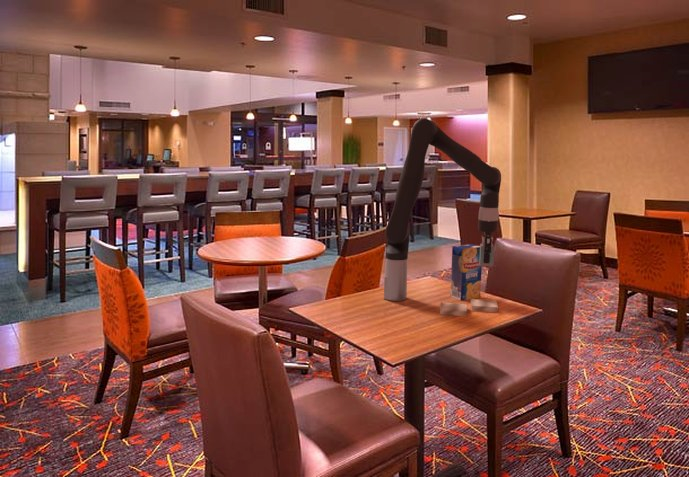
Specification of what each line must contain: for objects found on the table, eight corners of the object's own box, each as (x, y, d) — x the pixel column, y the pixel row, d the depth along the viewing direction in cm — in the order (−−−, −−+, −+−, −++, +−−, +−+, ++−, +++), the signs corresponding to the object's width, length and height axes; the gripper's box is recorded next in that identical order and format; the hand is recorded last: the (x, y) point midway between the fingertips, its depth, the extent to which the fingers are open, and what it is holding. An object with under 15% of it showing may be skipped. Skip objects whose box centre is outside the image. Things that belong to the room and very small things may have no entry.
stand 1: (439, 314, 210) (440, 309, 210) (440, 307, 220) (440, 302, 219) (466, 316, 208) (466, 311, 208) (466, 308, 218) (466, 303, 217)
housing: (479, 265, 214) (480, 245, 213) (479, 263, 219) (480, 243, 218) (493, 266, 213) (494, 246, 212) (492, 263, 218) (493, 244, 217)
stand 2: (471, 310, 215) (471, 305, 215) (470, 303, 225) (470, 298, 225) (497, 312, 213) (498, 307, 213) (495, 305, 223) (496, 300, 223)
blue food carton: (480, 297, 235) (482, 246, 231) (461, 300, 229) (463, 248, 226) (469, 293, 241) (471, 244, 237) (450, 296, 235) (452, 246, 232)
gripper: (477, 216, 221) (475, 257, 224) (479, 220, 207) (477, 264, 210) (497, 216, 220) (494, 258, 222) (499, 221, 206) (497, 265, 208)
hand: (486, 261), depth 216 cm, fingers closed on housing, 5 cm apart
